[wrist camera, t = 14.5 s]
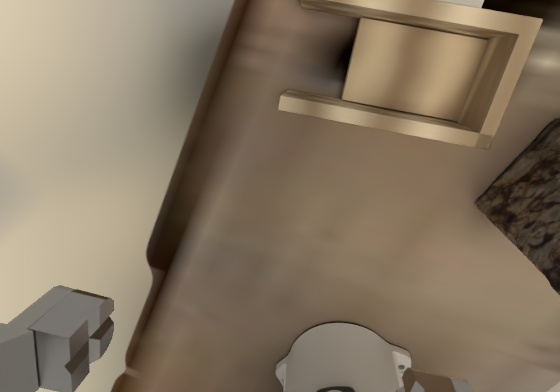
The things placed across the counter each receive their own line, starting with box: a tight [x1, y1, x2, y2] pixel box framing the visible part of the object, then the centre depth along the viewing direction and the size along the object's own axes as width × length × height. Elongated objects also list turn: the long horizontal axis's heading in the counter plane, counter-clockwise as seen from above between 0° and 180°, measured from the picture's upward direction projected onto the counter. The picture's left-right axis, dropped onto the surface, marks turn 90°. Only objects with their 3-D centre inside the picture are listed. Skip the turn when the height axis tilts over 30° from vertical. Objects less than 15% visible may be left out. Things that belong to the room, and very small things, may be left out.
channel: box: [278, 0, 543, 150], centre depth 30 cm, size 18×10×7 cm, turn 81°
